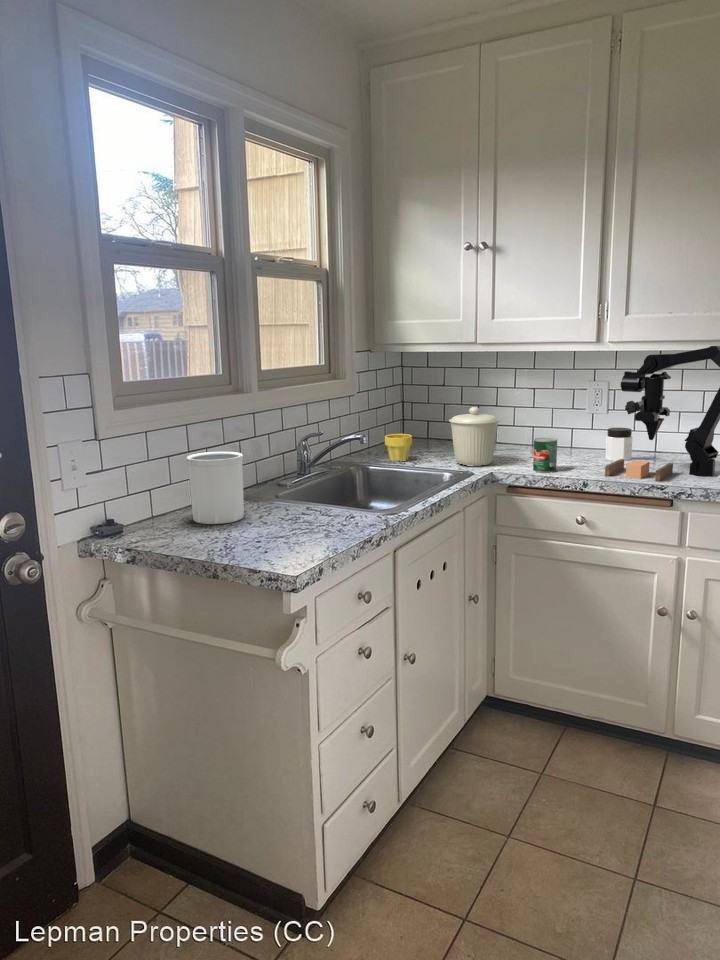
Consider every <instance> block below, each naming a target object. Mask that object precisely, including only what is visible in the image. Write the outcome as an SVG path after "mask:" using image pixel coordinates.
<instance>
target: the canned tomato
mask: <svg viewBox="0 0 720 960" xmlns="http://www.w3.org/2000/svg"><path fill="white" fill-rule="evenodd" d="M557 457H558V439H557V438H554V437H537V438H533V459H532V461H533V463H532V465H533V466H532V467H533V468H532V471H533V472H534V471H535V473H539V474H540V473H541V474H546V473H547V474H551V472H552V473H555V471H556V472H557V461H558V460H557V459H558V458H557Z"/></svg>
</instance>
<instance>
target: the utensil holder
mask: <svg viewBox="0 0 720 960" xmlns="http://www.w3.org/2000/svg"><path fill="white" fill-rule="evenodd" d="M243 460H244V455H243V453H241V452H236V451H207V452H200V453H194V454H190V455H187V457H186V462H187V465H188V467H187V468H188V475H189V477H188V478H189V479H188V480H189V488H190V501H191V512H192V519H193V521H194V522H195V523H197V524H204V525H221V524H229V523H234V522H237V521H240V520H242V519H243V518H244V514H245V513H244V512H245V511H244V478H243V477H244V474H243Z"/></svg>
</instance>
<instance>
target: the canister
mask: <svg viewBox="0 0 720 960" xmlns="http://www.w3.org/2000/svg"><path fill="white" fill-rule="evenodd" d="M468 412H469V413H467V414H465V413H464V414H458V415H454V416H453V417H452V418H450V419H448V421H449V423H450V427H451V435H452V443H453V452H454V457H455V460H456V463H457V464H458V463H459V464H458V465H460V464H463V465H462V466H464V465H473V466H472V467H482V466H481V465H485V466H489V465H490V464H491V463H492V461H493V460H494V455H495V449H496V441H497V432H498V424H499V422H500V419H499V418H497V417H496V416H495V415H493V414H486V413H480V408H479V407H476V406H473V407H470V408H469V410H468Z"/></svg>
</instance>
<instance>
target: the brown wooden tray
mask: <svg viewBox="0 0 720 960" xmlns="http://www.w3.org/2000/svg"><path fill="white" fill-rule="evenodd" d="M604 467H605V468H604V470H605V471H604V477H605V478H606V477H607V478H609V477H612V476H613V475H615V474H617V473H619V472H621V471H622V470H624V469H625V461H624V459H619V460H617V461H616V460H614V462H610V464H607V465H605V466H604ZM659 468H660V469H655V477H654V478H655V479H654V481H655V482H658V483H659V482H661V481H663V480H664V479H666V478H667V477H669V476H671V475H673V472H674V463H673V462H668V463H667V464H665V465H663V466H661V467H659Z"/></svg>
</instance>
